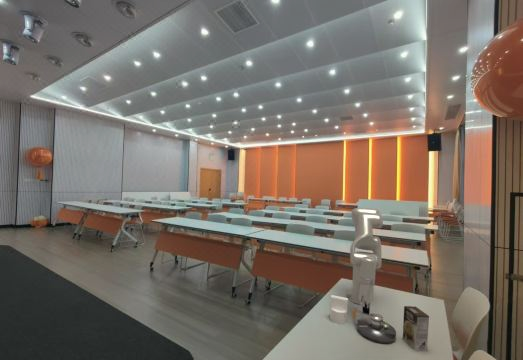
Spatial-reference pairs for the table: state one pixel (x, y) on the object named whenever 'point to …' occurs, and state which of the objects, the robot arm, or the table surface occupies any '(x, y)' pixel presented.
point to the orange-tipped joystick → (369, 318)
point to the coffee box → (415, 328)
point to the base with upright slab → (339, 309)
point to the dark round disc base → (377, 332)
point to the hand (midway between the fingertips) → (365, 314)
